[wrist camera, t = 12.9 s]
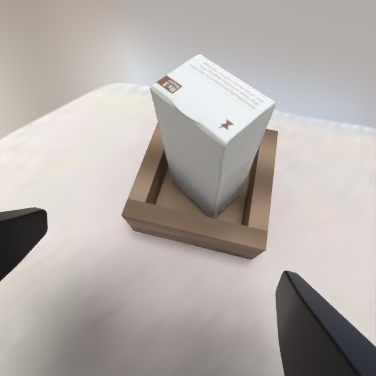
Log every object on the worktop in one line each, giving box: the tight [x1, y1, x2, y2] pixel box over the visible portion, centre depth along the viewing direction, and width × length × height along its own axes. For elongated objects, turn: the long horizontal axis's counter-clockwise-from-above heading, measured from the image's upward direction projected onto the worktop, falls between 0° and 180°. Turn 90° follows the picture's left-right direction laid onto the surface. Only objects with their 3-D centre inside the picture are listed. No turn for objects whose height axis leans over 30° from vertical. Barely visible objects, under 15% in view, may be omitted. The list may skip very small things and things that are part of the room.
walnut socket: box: [122, 123, 278, 259], centre depth 22 cm, size 12×12×4 cm
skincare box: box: [150, 54, 275, 219], centre depth 18 cm, size 6×4×12 cm
